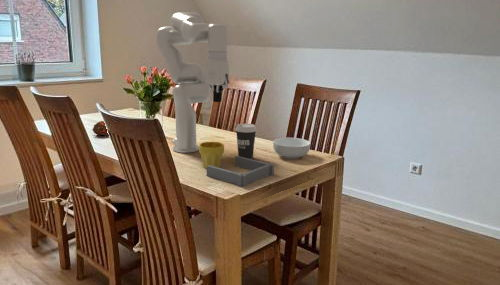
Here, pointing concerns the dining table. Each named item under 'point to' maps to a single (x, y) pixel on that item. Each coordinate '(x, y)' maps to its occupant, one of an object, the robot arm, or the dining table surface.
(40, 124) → the dining table surface
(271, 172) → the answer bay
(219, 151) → the plant pot
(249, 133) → the coffee cup
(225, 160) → the dining table surface
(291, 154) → the cereal bowl
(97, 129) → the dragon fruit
